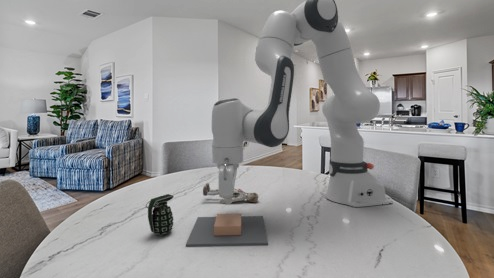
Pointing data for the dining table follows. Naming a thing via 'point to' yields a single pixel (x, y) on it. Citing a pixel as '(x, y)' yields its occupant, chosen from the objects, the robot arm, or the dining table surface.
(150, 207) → the grenade
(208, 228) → the mat
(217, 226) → the tile
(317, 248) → the dining table surface
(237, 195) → the figurine
